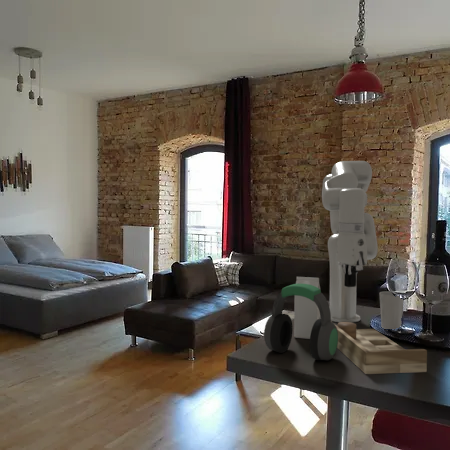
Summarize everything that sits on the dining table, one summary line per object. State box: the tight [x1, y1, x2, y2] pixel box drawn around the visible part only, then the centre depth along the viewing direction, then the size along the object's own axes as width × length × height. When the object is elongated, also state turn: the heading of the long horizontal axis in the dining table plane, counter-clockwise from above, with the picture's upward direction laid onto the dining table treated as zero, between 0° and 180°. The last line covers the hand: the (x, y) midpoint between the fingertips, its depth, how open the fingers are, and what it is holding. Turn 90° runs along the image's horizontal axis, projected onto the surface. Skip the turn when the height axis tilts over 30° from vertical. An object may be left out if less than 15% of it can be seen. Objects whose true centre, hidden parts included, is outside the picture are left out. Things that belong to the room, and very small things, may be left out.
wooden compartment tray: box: [336, 325, 428, 375], centre depth 130 cm, size 32×16×6 cm, turn 5°
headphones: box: [263, 283, 338, 361], centre depth 127 cm, size 19×11×20 cm, turn 58°
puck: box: [337, 322, 357, 340], centre depth 137 cm, size 6×6×4 cm
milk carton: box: [293, 276, 321, 340], centre depth 146 cm, size 7×7×19 cm
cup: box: [378, 290, 405, 330], centre depth 155 cm, size 8×8×12 cm
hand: (350, 286), depth 143 cm, fingers closed
